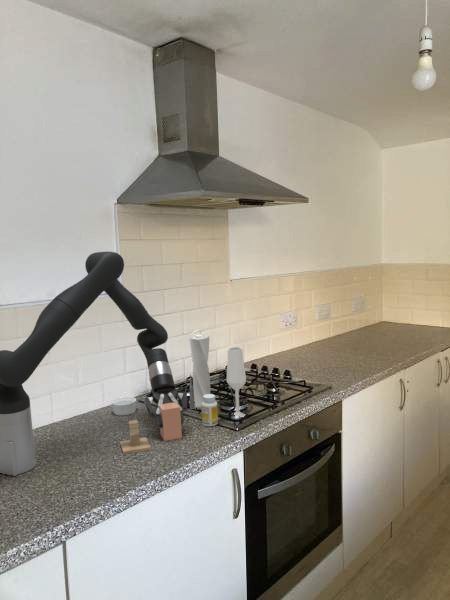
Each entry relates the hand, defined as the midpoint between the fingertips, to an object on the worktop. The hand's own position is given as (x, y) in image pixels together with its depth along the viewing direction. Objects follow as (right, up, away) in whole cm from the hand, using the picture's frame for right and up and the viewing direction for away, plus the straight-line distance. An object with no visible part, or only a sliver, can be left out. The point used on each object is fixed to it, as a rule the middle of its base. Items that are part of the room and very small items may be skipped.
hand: (171, 425), depth 154 cm
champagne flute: (+21, -1, +16) cm, 27 cm away
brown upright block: (0, -4, +2) cm, 5 cm away
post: (-10, -5, -5) cm, 13 cm away
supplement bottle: (+12, -3, +11) cm, 16 cm away
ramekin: (-20, -2, +27) cm, 33 cm away
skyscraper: (+8, 0, +30) cm, 31 cm away
